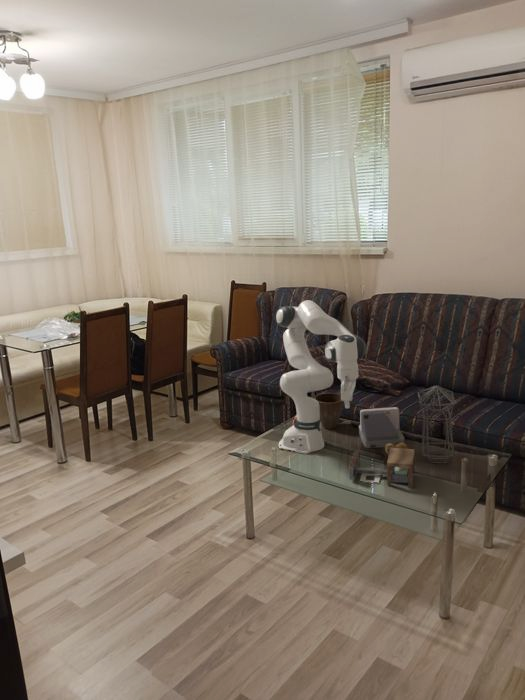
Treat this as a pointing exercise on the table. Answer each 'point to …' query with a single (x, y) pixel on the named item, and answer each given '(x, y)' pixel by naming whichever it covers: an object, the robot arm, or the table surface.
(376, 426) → the instant camera
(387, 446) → the lion figurine
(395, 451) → the tunnel
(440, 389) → the geometric lantern
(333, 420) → the plant pot
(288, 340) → the robot arm
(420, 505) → the table surface
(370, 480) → the pit board
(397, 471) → the block
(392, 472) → the sled collar
